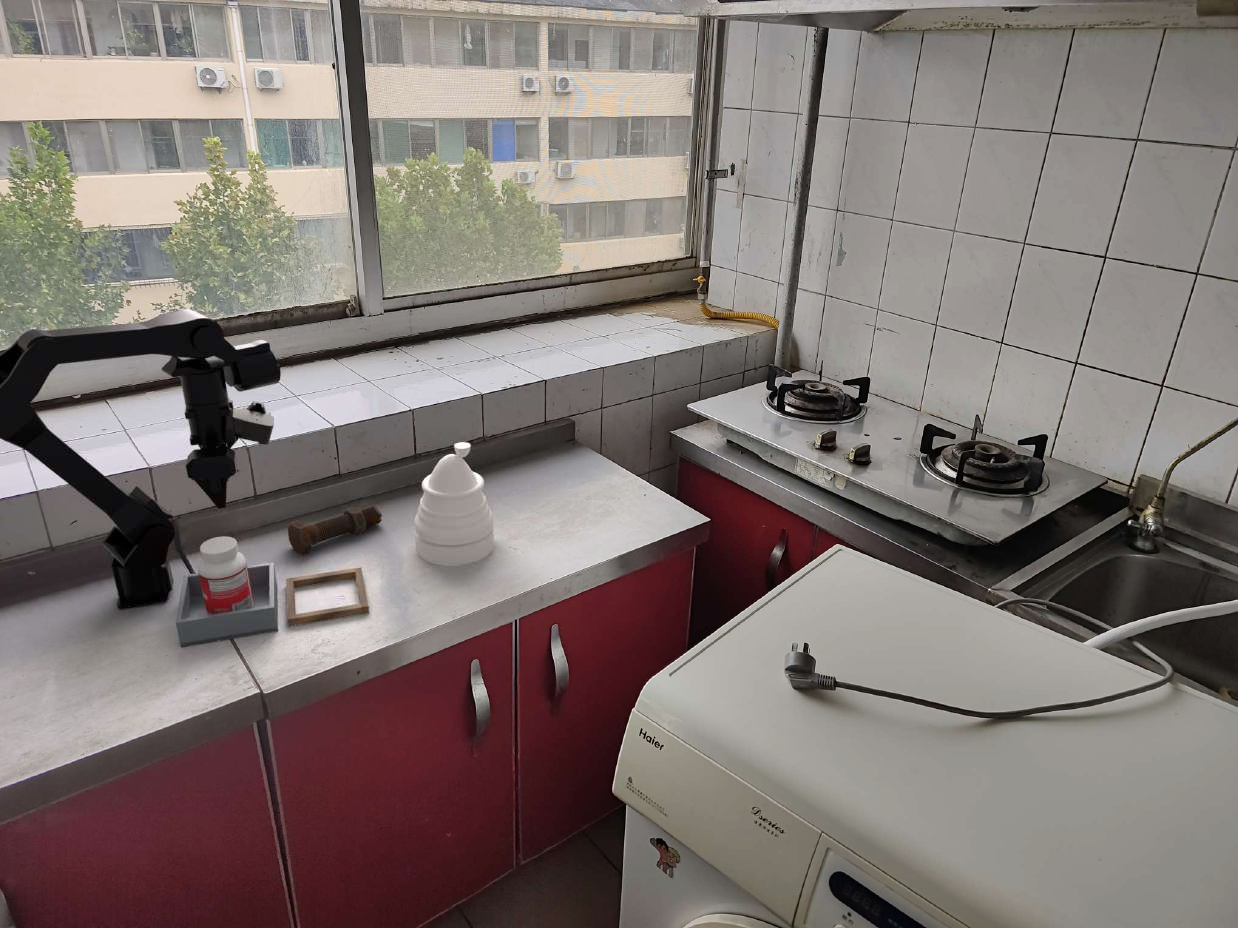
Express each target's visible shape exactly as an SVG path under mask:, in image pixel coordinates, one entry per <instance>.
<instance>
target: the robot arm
mask: <svg viewBox="0 0 1238 928" xmlns="http://www.w3.org/2000/svg"><path fill="white" fill-rule="evenodd" d="M223 331H224V330H223V329H222V327H221V325H220V324H219V323H218V322H217V321H216V320H214V319H213V318H210V317H209V316H206V315H204V314H202V313H200V312H198V311H195V310H192V309H187V308H184V309H180V310H176V311H171V312H167V313H163V314H158V315H157V316H155V317H153V318H151V319H149V320H148V319H147V320H144V321H141V322H134V323H121V324H120V323H119V324H108V325H99V326H98V325H96V326H87V327H83V326H82V327H73V328H72V327H71V328H63V329H61V328H60V329H51V330H50V329H49V330H47V329H46V330H43V329H31V330H27V331H25V332H23V333H22V334H21V335H20V336H19V337H18V338H17V339H16V340H15V341H14V343H13V344H12V345H11V346H9V347H8V348H6V349H5V350H3V351H2V352H1V353H0V440H3V441H4V442H6V443H9V444H11V445H14V446H16V447H18V448H21V449H22V450H24V451H26V452H28V454H30V455H31V456H33V458H35V459H36V460H38V461H39V462H40V463H41V464H43V465H44V466H45V467H46V468H48V469H49V470H50V471H51V472H52V473H54V474H55V475H56V476H58V477H59V478H60V479H62V480H63V481H64V482H65V483H67V485H69V486H71V487H72V488H73V489H75V490H76V491H77V492H79V494H81V496H83V497H84V498H86V499H87V500H88V501H89V502H91V503H92V504H93V505H94V506H96V507H97V508H98V509H100V510H101V512H102V513H103V514H104V516H105V517H106V518H107V519H108V521H109V522H110V523H111V524H112V526H113V527H112V528H111V530H110V531H109V533H108V534H107V535H106V536H105V538H104V539H103V541H102V542H101V543H102V546H103V547H104V548H105V549H106V551H107V552H108V553H109V554H110V555H112V556H113V560H112V562H111V566H110V567H111V572H112V576H113V580H114V582H115V587H116V592H117V596H118V600H117V604H116V605H117V608H118V609H119V610H120V609H127V608H133V607H140V606H148V605H155V604H160V603H166V602H168V601H169V597H170V593H171V591H173V587H174V576H173V572H172V568H171V563H170V560H169V559H168V558H167V557H168V552H169V547H170V544H172V542H173V540H174V538H175V535H176V530H177V528H176V526H175V524H174V523H173V521H172V520H171V519H173V518H174V515H173V514H171V513H170V512H169V511H168V510H167V509H166V508H164V507H163V506H162V505H161V504H159V502H157V501H156V500H155V499H154V498H152V497H151V496H150V495H149V494H147V493H146V492H145V491H144V490H143V489H142V488H141V487H139V486H138V485H136V486H135V487H134V488H133V490H131V492H129V491H126V490H124V489H122V488H120V487H119V486H118V485H116V484H115V483H114V482H113V481H111V480H110V479H109V478H108V477H107V476H106V475H104V474H103V473H102V472H100V470H98V469H97V468H96V467H94V465H92V464H91V463H90V462H89V461H87V460H86V459H85V458H84V457H83V456H82V455H80V454H79V453H77V451H75V450H74V449H73V448H72V447H71V446H69V445H68V444H67V443H66V442H65V441H64V440H63V439H61V438H60V437H59V436H57V435H56V434H55V433H54V432H52V431H51V430H50V429H49V427H48V426H47V424H45V422H44V421H43V420H42V419H41V417H40V415H39V414H38V413H37V412H36V410H35V409H34V408H33V407H32V405H31V403H32V401H33V400H35V398H36V397H37V396H38V395H39V393H40V391H41V390H42V388H43V386H44V384H45V383H46V381H47V379H48V377H49V376H50V373H52V371H53V370H54V369H55V368H56V367H57V366H58V365H65V364H73V363H82V362H90V361H91V362H92V361H99V360H101V361H102V360H111V359H118V358H119V359H120V358H126V357H128V358H130V357H138V356H146V355H148V356H149V355H162V356H168V357H170V359H169V360H168V362H166V363H164V365H163V366H162V367H161V371H162V372H163V373H165V374H166V375H168V376H170V377H171V378H180V382H181V384H180V385H181V390H182V395H183V399H184V405H185V410H184V416H185V417H184V419H185V420H188V425H189V427H188V428H189V431H190V436H189V443H190V446H198V448H197V449H193V450H192V451H190V453H189V454H188V455H187V458H186V462H185V469H186V474H187V478H189V479H190V480H191V481H194V482H195V483H196V484H197V486H199V488H200V489H201V490H202V491H203V492H204V493H205V495H206V496H207V497H208V498H209V499H210V501H211V502H212V503H213V504H214V506H215V507H216V508H217V509H226V508H227V497H228V495H227V493H228V482H229V479H230V478H231V477H233V476H235V475H236V473H237V471H238V470H237V469H238V462H237V460H238V459H237V455H236V454H237V453H236V451H235V450H233V449H232V447H233V446H235V444H236V443H237V442H238V440H239V439H241V440H245V441H250V442H254V443H255V442H256V443H258V444H259V445H264V446H265V445H269V444H270V442H271V441H270V440H271V437H272V434H273V433H272V432H273V429H274V426H275V421H274V420H275V418H274V416H273V415H272V413H270V412H268V413H267V411H266V408H265V404H264V402H260V401H255V400H253V401H252V402H251V403H250V405H248V406H247V407H244V406H243V407H242V408H238V407H237V408H236V407H234V402H233V400H231V397H229V395H228V389H227V387H228V386H229V387H231V388H232V387H234V389H235V390H236V391H237V392H241V393H242V392H246V391H251V390H254V389H258V388H264V387H267V386H274V385H277V384H279V382H280V380H281V375H282V374H281V373H282V372H281V367H280V364H278V361H277V358H276V356H275V355H274V352H273V351H272V350H271V345H270V342H268V341H266V340H263V339H258V340H254V341H252V342H249V343H246V344H244V343H243V344H239V345H232V344H231V343H230V342H229V341H228V340H227V339H226V338H225V335H224V332H223ZM212 357H215V358H212ZM181 358H184V359H181ZM209 358H211V359H209Z"/></svg>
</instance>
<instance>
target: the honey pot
mask: <svg viewBox="0 0 1238 928" xmlns="http://www.w3.org/2000/svg"><path fill="white" fill-rule="evenodd" d="M471 446H472V445H471V443H469V442H465V441H463V442H457V443H455V444H454V445H453V447H454V448H453V449H454V451H455V454H454V453H450V454H449V453H448V454H447V455H445V456H443V457H442V458H441V459H440V460H439V461H438V462H437V464H436V465H435V466H434V468H433V471H432V472H431V474H428V475H427V476H426V477H424V479H423V480H422V482H421V489H422V491H423V495H422V496H421V498H420V500H419V506H418V509H417V513H416V515H415V516H414V535H415V537H414V538H415V550H416V552H417V555H418V556H419V557H420V558H421V559H423V560H424V561H426V562H427V563H431V564H435V565H437V566H447V567H453V566H456V567H457V566H464V565H470V564H474V563H475V562H478V561H481V560H482V559H484V558H485V557H488V555H489V554H491V552H492V551H493V549H494V547H495V542H494V541H495V540H494V539H495V538H494V536H495V534H494V515H493V512H492V511H491V509H490V506H489V504H488V502H487V497H486V496H485V495H486V494H484V493H483V488H484V487H485V480H484V478H483V476H482V475H481V474H479V473H477V472H474V471H473V470H472V469H471V467H470V466H469V465H468V463H467V462H466V461H465V460H464V458H465V457H467V456H468V454H469V453H470V451H471Z"/></svg>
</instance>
